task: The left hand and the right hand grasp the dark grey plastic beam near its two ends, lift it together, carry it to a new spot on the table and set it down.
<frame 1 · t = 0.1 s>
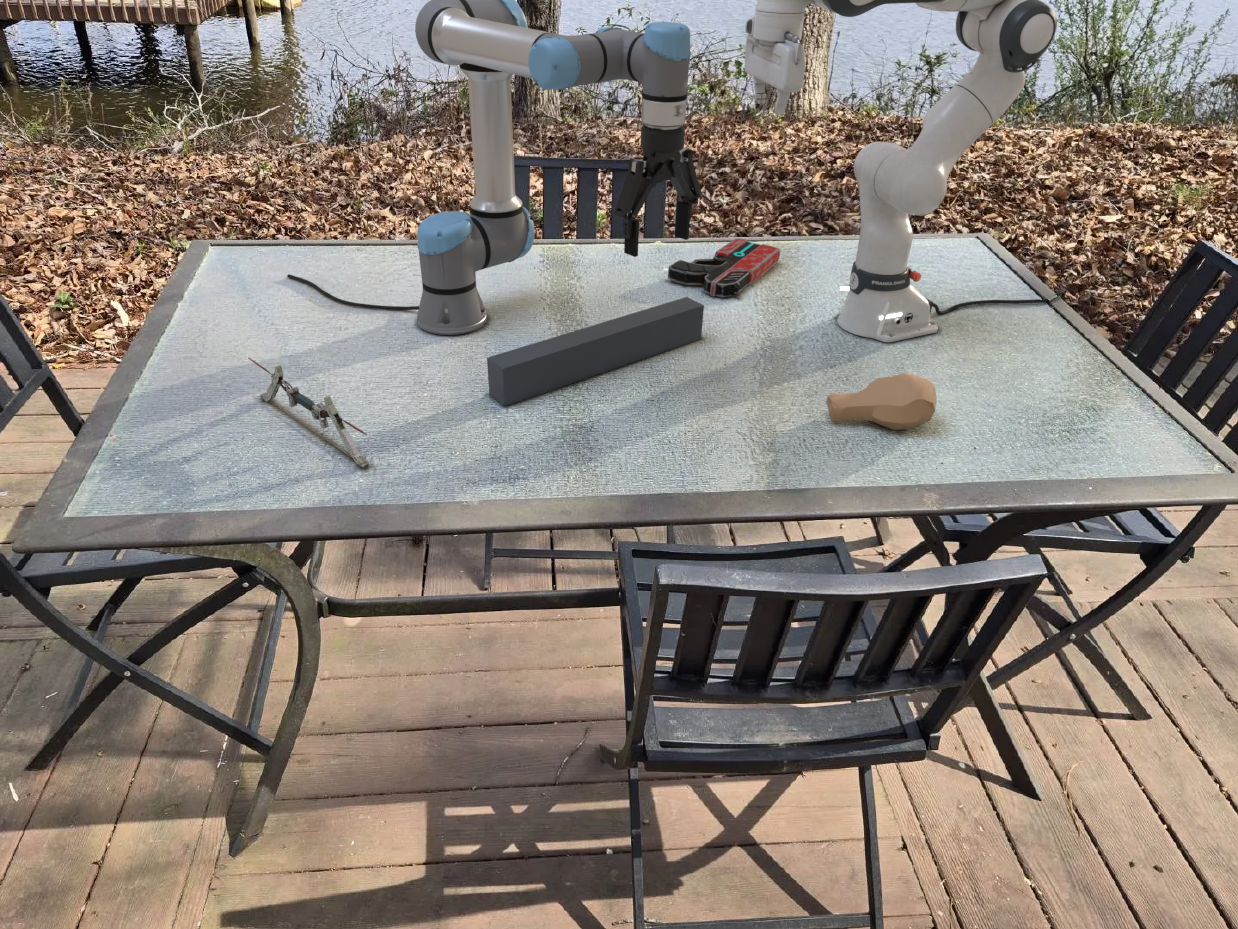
left hand: (657, 245, 161), 28 cm above the table, tool pointing down, fingers open, 13 cm apart
right hand: (768, 108, 168), 48 cm above the table, tool pointing down, fingers open, 8 cm apart
beam: (601, 365, 181), on the table
gun: (725, 274, 225), on the table
bow: (312, 431, 157), on the table
squash: (878, 421, 165), on the table
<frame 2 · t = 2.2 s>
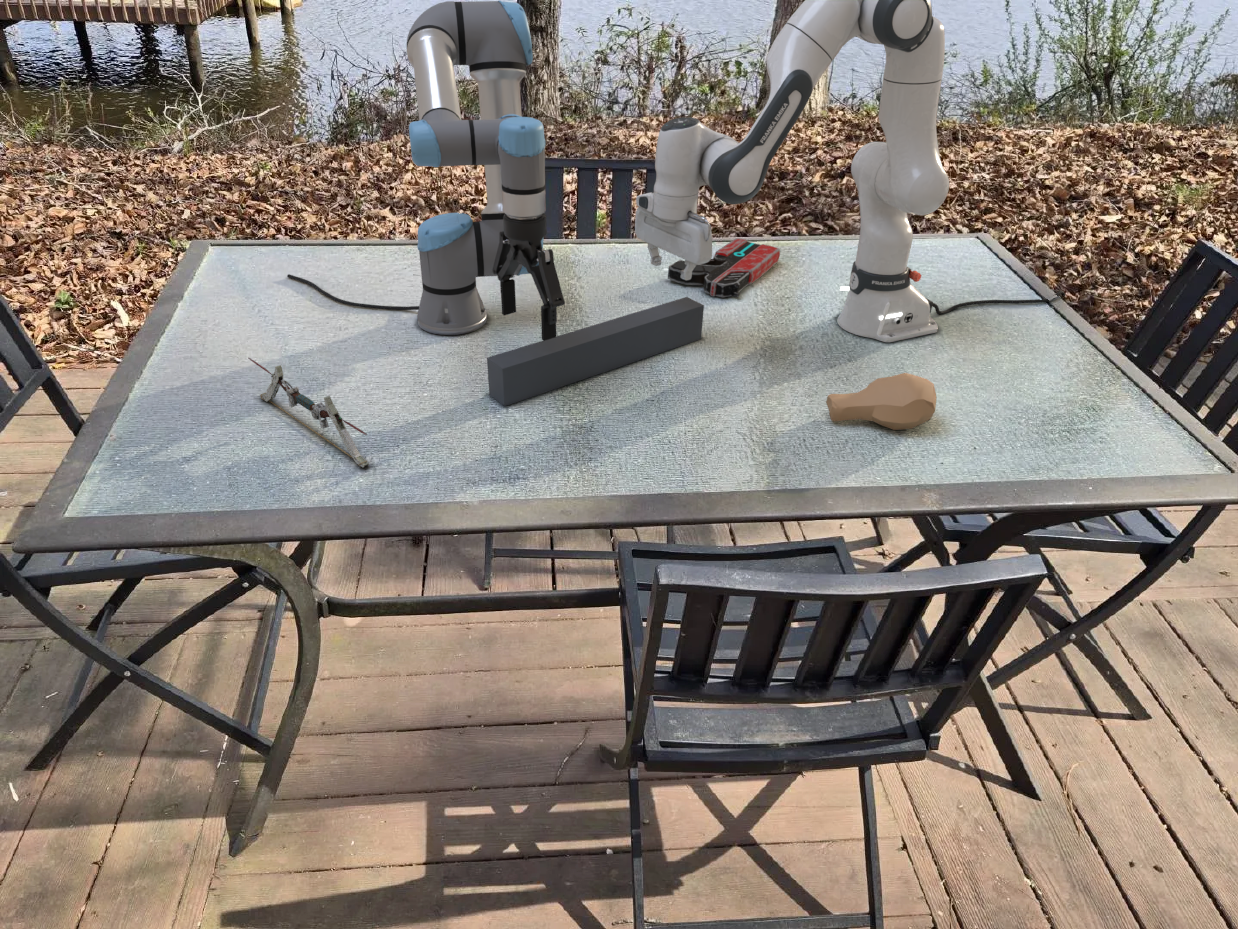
left hand: (528, 325, 164), 14 cm above the table, tool pointing down, fingers open, 13 cm apart
right hand: (670, 271, 181), 16 cm above the table, tool pointing down, fingers open, 8 cm apart
nothing on the table moved.
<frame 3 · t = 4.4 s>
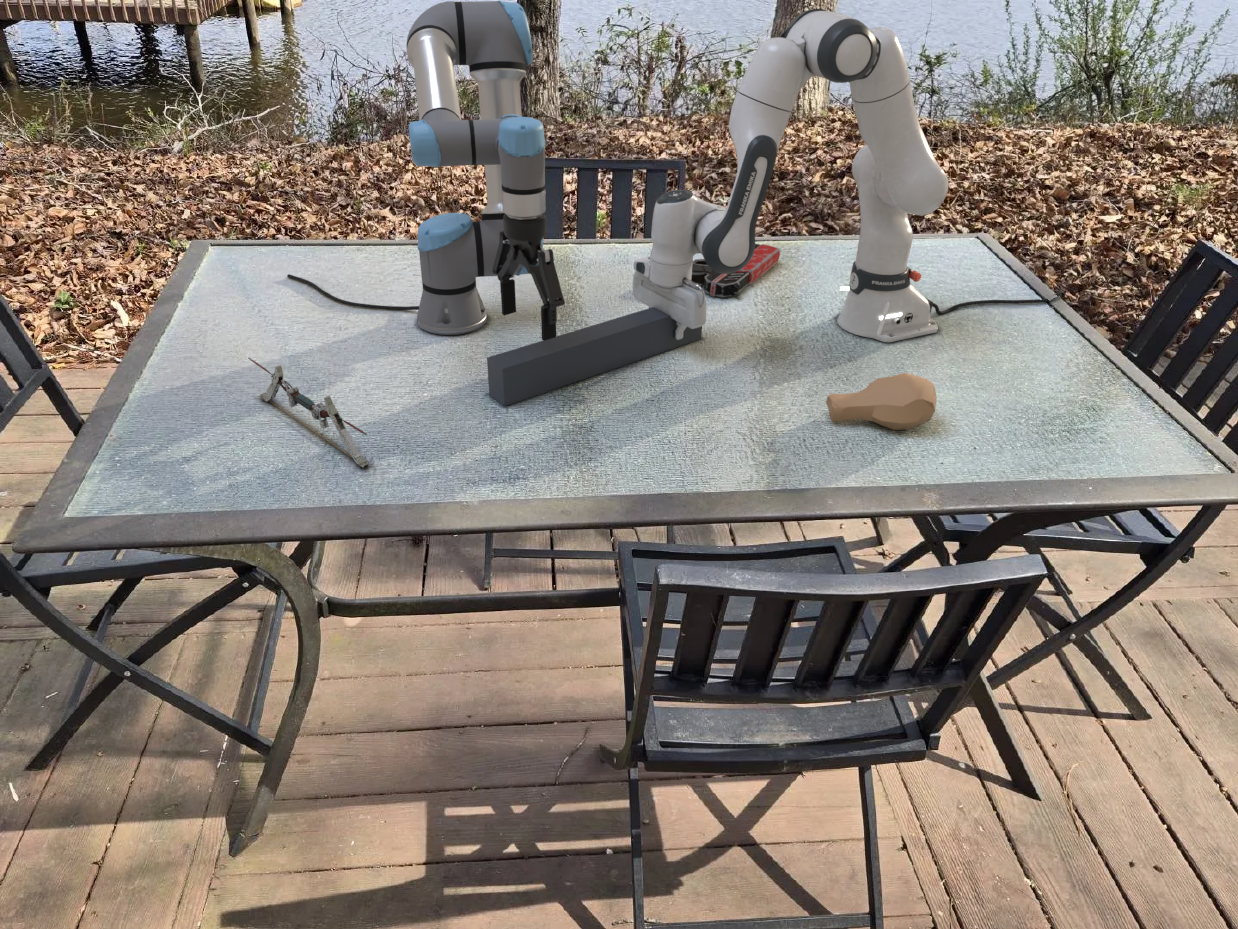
left hand: (528, 325, 164), 14 cm above the table, tool pointing down, fingers open, 13 cm apart
right hand: (666, 332, 189), 3 cm above the table, tool pointing down, fingers closed on beam, 5 cm apart
beam: (601, 365, 181), on the table, touching right hand
everything else where it was.
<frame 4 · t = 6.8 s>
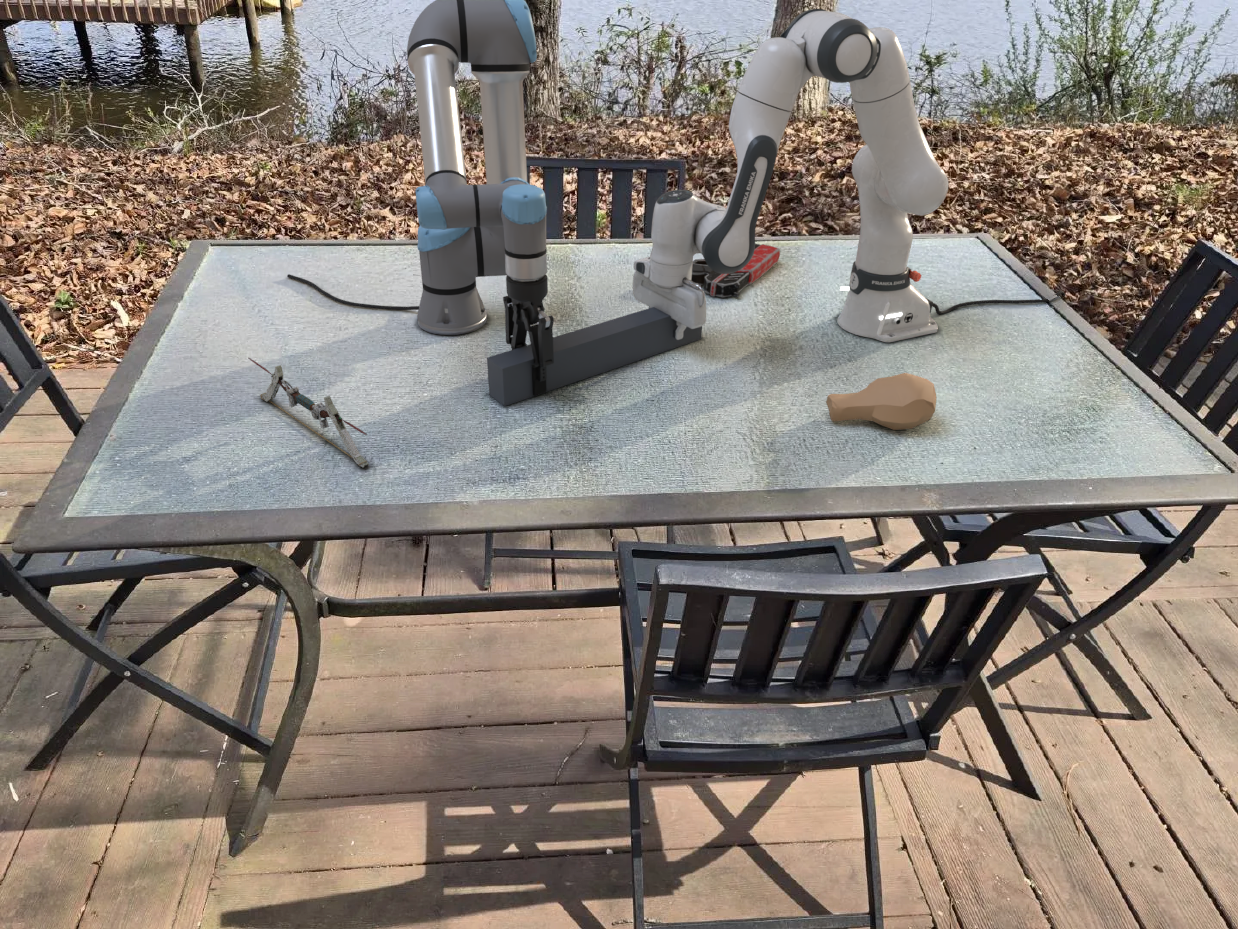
left hand: (530, 386, 172), 1 cm above the table, tool pointing down, fingers closed on beam, 6 cm apart
right hand: (666, 332, 189), 3 cm above the table, tool pointing down, fingers closed on beam, 5 cm apart
beam: (601, 365, 181), on the table, touching left hand, right hand
everything else where it was.
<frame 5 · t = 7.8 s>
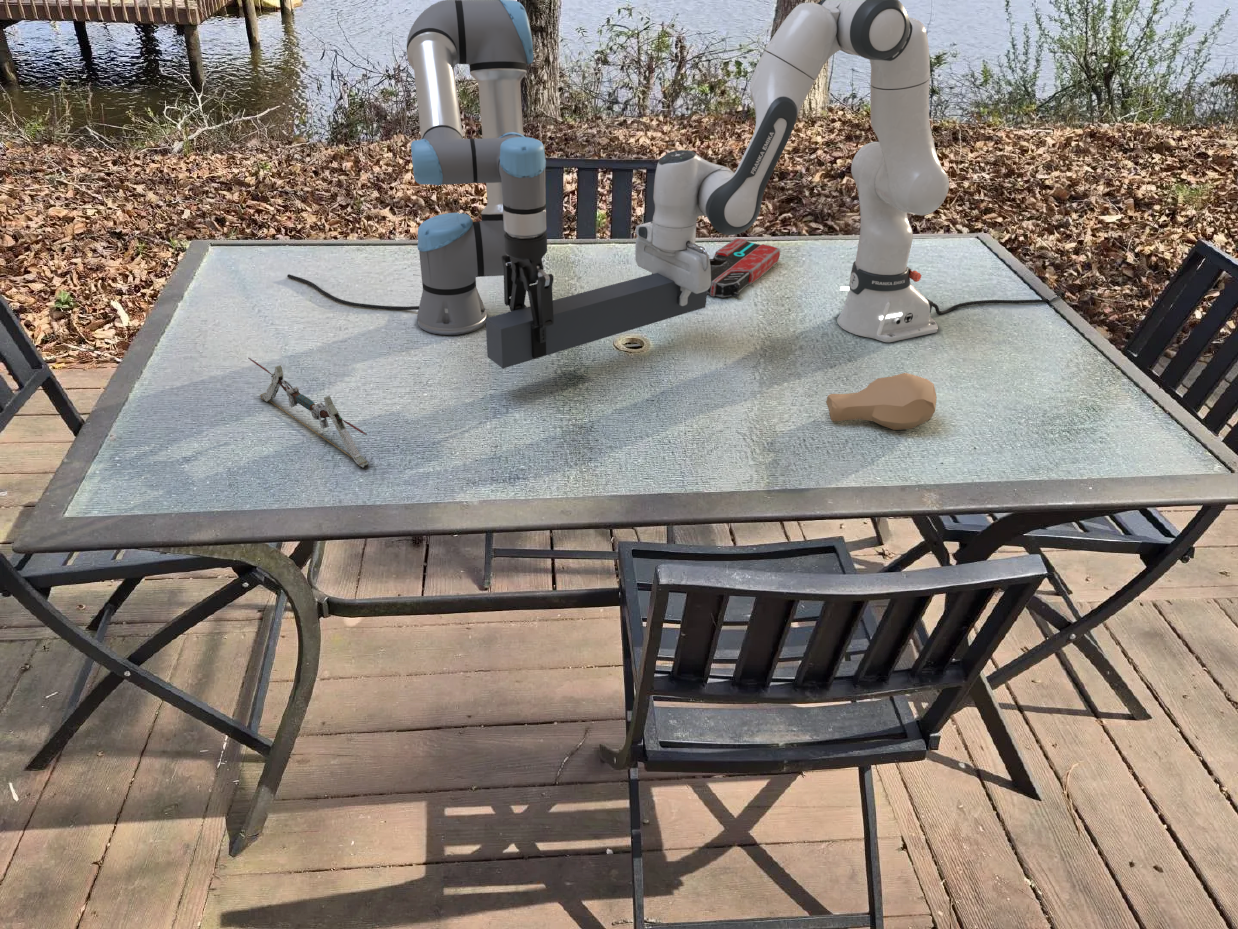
left hand: (529, 349, 168), 8 cm above the table, tool pointing down, fingers closed on beam, 6 cm apart
right hand: (670, 299, 185), 10 cm above the table, tool pointing down, fingers closed on beam, 5 cm apart
beam: (603, 330, 177), point 8 cm above the table, touching left hand, right hand
everything else where it was.
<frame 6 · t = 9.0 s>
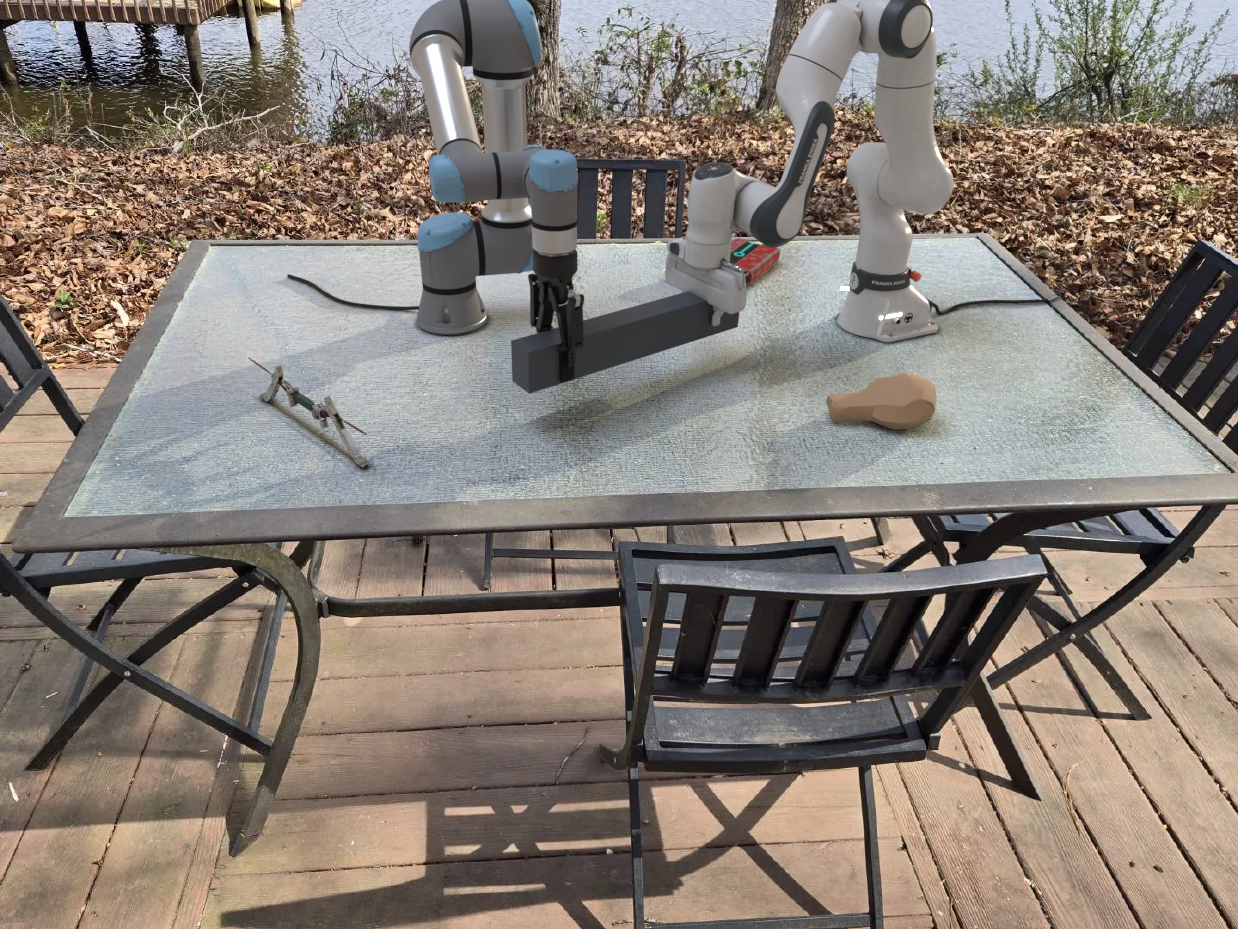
left hand: (557, 372, 159), 9 cm above the table, tool pointing down, fingers closed on beam, 6 cm apart
right hand: (702, 318, 176), 11 cm above the table, tool pointing down, fingers closed on beam, 5 cm apart
beam: (632, 352, 168), point 8 cm above the table, touching left hand, right hand
everything else where it was.
when the left hand's fingers open (1 cm above the table, at t = 11.6 s): beam stays where it is, on the table.
when the right hand's fingers open (3 cm above the table, at t = 11.8 s): beam stays where it is, on the table.
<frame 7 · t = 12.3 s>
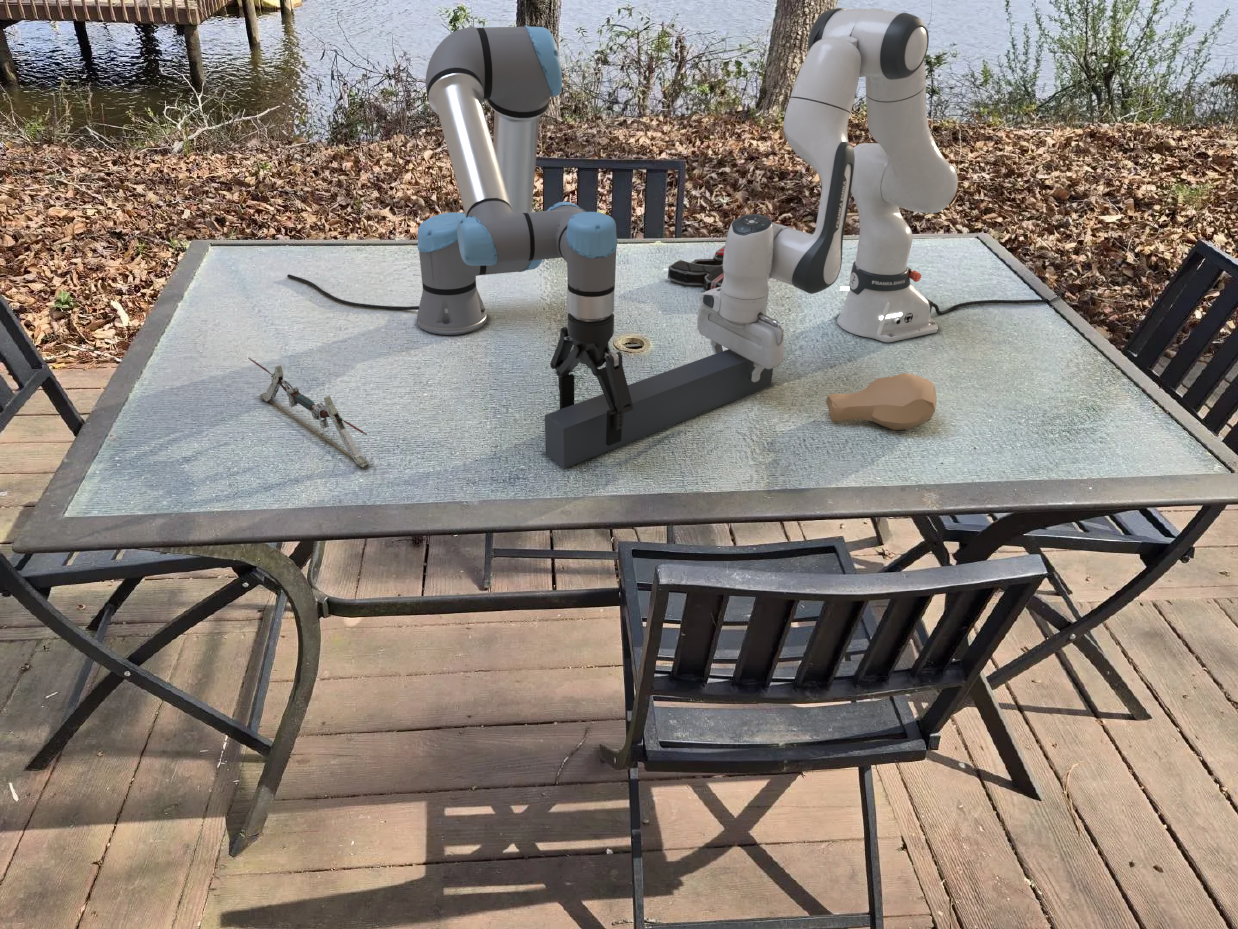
left hand: (589, 425, 152), 5 cm above the table, tool pointing down, fingers open, 13 cm apart
right hand: (736, 370, 171), 5 cm above the table, tool pointing down, fingers open, 8 cm apart
beam: (666, 417, 164), on the table
everything else where it was.
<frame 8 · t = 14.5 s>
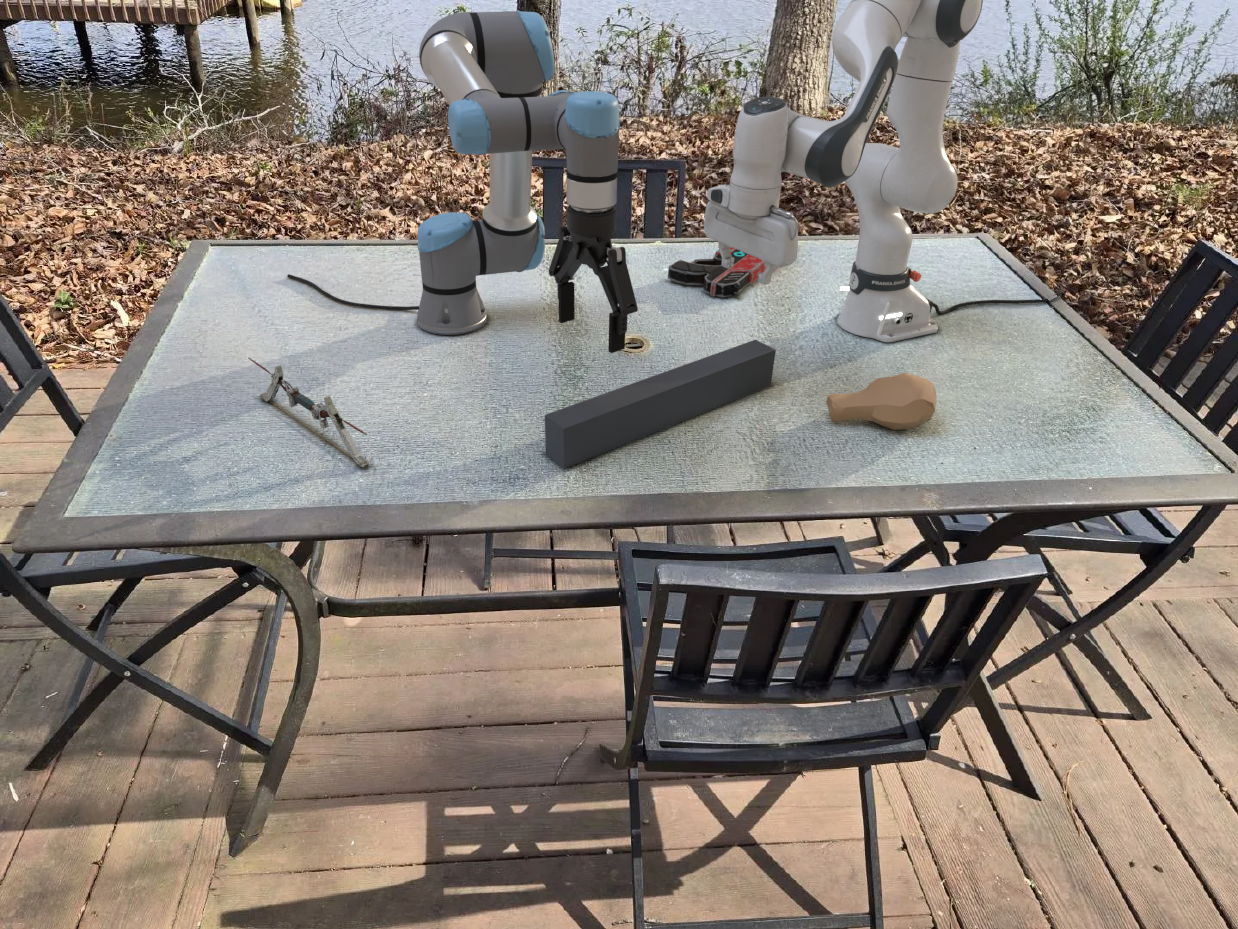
left hand: (590, 335, 143), 22 cm above the table, tool pointing down, fingers open, 13 cm apart
right hand: (745, 274, 160), 24 cm above the table, tool pointing down, fingers open, 8 cm apart
nothing on the table moved.
at the end: beam inside the target area (0.3 cm from its centre), on the table; beam tilted 0°; beam never tilted more than 1° during the clip; both hands held the beam at the same time; the left hand is holding nothing; the right hand is holding nothing; beam at rest at the end (0.0 cm/s) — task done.
